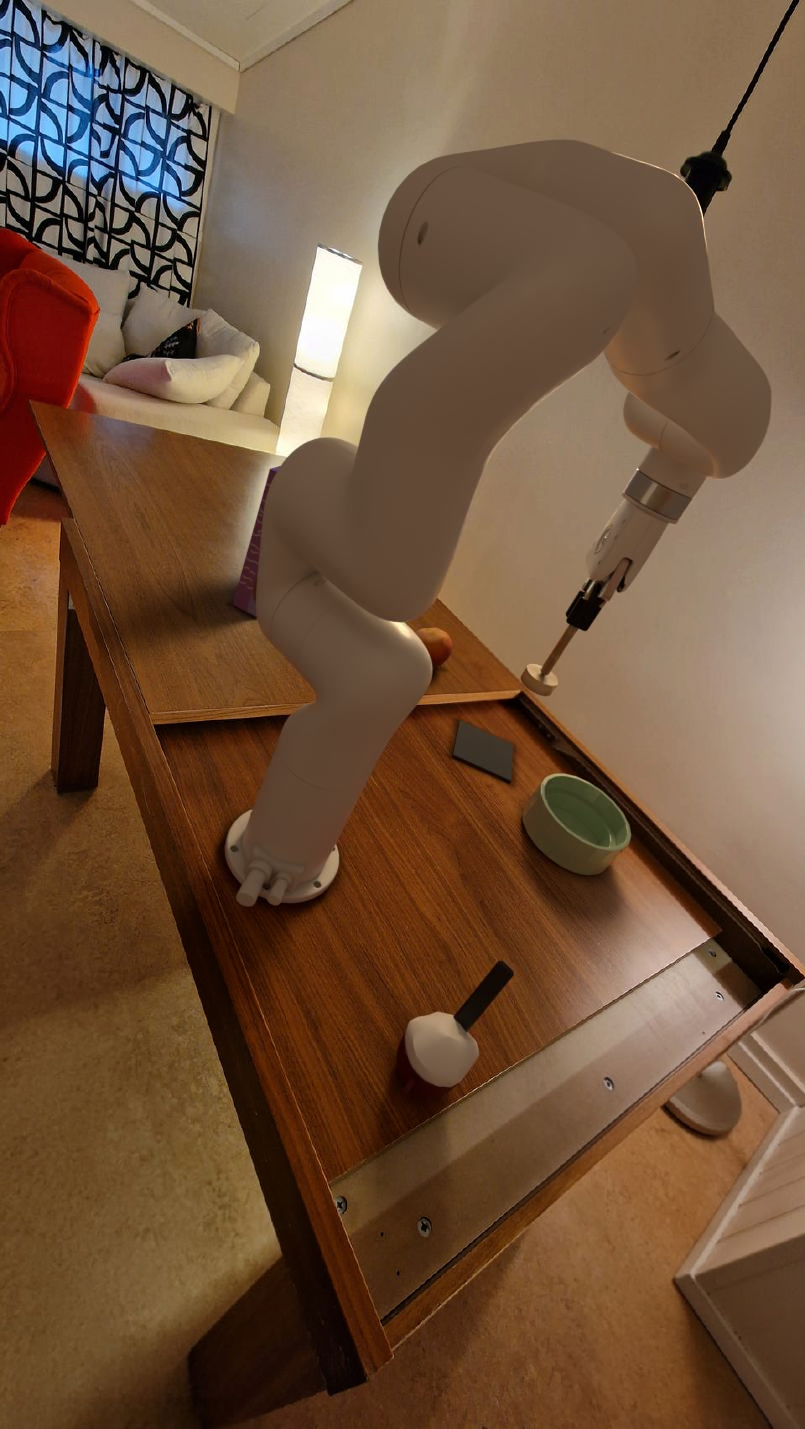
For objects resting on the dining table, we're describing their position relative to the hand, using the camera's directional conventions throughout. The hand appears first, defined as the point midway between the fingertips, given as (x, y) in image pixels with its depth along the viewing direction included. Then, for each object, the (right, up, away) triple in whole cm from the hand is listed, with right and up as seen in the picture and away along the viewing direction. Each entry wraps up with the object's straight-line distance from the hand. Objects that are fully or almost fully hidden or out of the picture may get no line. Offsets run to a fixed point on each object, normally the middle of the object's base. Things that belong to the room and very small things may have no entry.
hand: (575, 622), depth 85 cm
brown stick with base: (-4, -8, +6) cm, 11 cm away
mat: (-11, -18, +15) cm, 26 cm away
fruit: (-20, -3, +30) cm, 36 cm away
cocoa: (-22, -45, -28) cm, 58 cm away
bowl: (0, -31, +6) cm, 31 cm away
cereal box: (-48, +8, +26) cm, 55 cm away
